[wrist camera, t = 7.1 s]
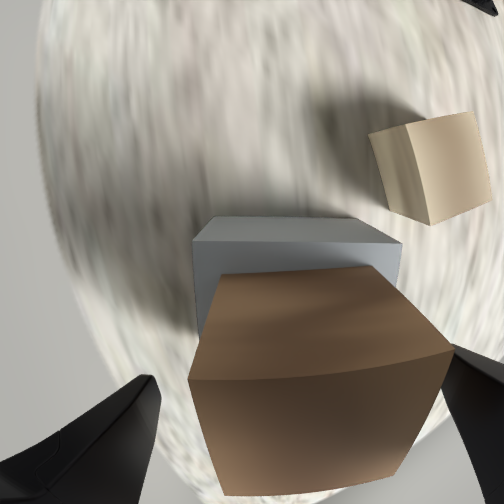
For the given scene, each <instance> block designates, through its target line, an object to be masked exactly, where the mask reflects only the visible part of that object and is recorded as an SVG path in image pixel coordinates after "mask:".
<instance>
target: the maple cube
mask: <svg viewBox="0 0 504 504" xmlns="http://www.w3.org/2000/svg"><path fill="white" fill-rule="evenodd" d="M368 137H369V140H370V143H371V146H372V149H373V152H374V155H375V158H376V161H377V165H378V168H379V172H380V175H381V179H382V182H383V186H384V190H385V193H386V197H387V201H388V205H389V210H390V211H392V212H394V213H397V214H400V215H403V216H405V217H408V218H411V219H413V220H416V221H418V222H421V223H424V224H426V225H429V226H432V225H435V224H437V223H440V222H442V221H445V220H447V219H449V218H452V217H454V216H457V215H459V214H461V213H464V212H466V211H469V210H471V209H473V208H476V207H478V206H480V205H482V204H485V203H487V202H489V201H492V193H491V186H490V180H489V174H488V169H487V164H486V159H485V154H484V150H483V145H482V141H481V137H480V134H479V130H478V126H477V123H476V119H475V116H474V113H473V111H471V112H465V113H459V114H453V115H448V116H442V117H437V118H432V119H427V120H422V121H417V122H413V123H408V124H404V125H400V126H396V127H393V128H389V129H385V130H382V131H378V132H374V133H371V134H368Z"/></svg>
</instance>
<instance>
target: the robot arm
mask: <svg viewBox="0 0 504 504" xmlns="http://www.w3.org/2000/svg"><path fill="white" fill-rule="evenodd" d="M463 1H465V2H467V3H469V4H471V5H473V6H475V7H477V8H479V9H481V10H483V11H485V12H487V13H488V14H490V15H492V16H494V17H495V16H497V15H498V11H497V9H496V7H495V5H494V3H493V0H463ZM451 345H452V346H453V347H454V348H455V351H454V354H453V357H452V360H451V363H450V365H449V368H448V371H447V373H446V376H445V378H444V381H443V383H442V386H441V390H442V392H443V395H444V398H445V401H446V403H447V406H448V409H449V411H450V413H451V415H452V417H453V420H454V422H455V424H456V426H457V428H458V431H459V433H460V435H461V438H462V440H463V442H464V445H465V447H466V450H467V452H468V454H469V457H470V460H471V462H472V465H473V468H474V470H475V473H476V476H477V478H478V481H479V484H480V487H481V490H482V494H483V497H484V499H485V504H504V364H502V363H500V362H497V361H495V360H492V359H490V358H487V357H485V356H482V355H480V354H477V353H475V352H472V351H470V350H467V349H465V348H462V347H460V346H457V345H455V344H451ZM160 406H161V393H160V390H159V388H158V385H157V382H156V379H155V377H154V376H153V375H146V374H141V375H139V376H137V377H136V378H134V379H133V380H132V381H130V382H129V383H127V384H126V385H125V386H123V387H122V388H120V389H119V390H118V391H116V392H115V393H113V394H112V395H110V396H109V397H107V398H106V399H105V400H103V401H102V402H100V403H99V404H97V405H96V406H95V407H93V408H91V409H90V410H89V411H87V412H86V413H84V414H83V415H81V416H80V417H78V418H77V419H75V420H74V421H72V422H71V423H69V424H68V425H66V426H65V427H63V428H62V429H61V430H60V431H57V432H55V433H54V434H52V435H51V436H49V437H48V438H46V439H44V440H43V441H41V442H39V443H38V444H36V445H34V446H32V447H30V448H28V449H26V450H24V451H22V452H20V453H18V454H16V455H14V456H12V457H10V458H7V459H6V460H3V461H1V462H0V504H138V503H139V499H140V495H141V491H142V487H143V483H144V479H145V476H146V472H147V468H148V464H149V461H150V457H151V453H152V449H153V446H154V442H155V437H156V431H157V425H158V418H159V412H160Z"/></svg>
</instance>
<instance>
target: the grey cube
mask: <svg viewBox="0 0 504 504" xmlns="http://www.w3.org/2000/svg"><path fill="white" fill-rule="evenodd" d="M401 252H402V243H400V242H399V241H397V240H395V239H393V238H392V237H390V236H388V235H386V234H385V233H383V232H381V231H379V230H377V229H376V228H374V227H372V226H370V225H368V224H366V223H365V222H363V221H361V220H359V219H349V218H320V217H275V216H214V217H213V218H212V219H211V220H210V221H209V222H208V223H207V225H206V226H205V227H204V228H203V229H202V230H201V231H200V232H199V233H198V235H197V236H196V237H195V238H194V239H193V240H192V255H193V271H194V286H195V299H196V311H197V322H198V332H199V341H200V338H201V335H202V332H203V328H204V325H205V322H206V319H207V316H208V313H209V310H210V307H211V304H212V301H213V298H214V295H215V292H216V289H217V286H218V283H219V280H220V277H221V274H239V273H259V272H278V271H296V270H313V269H329V268H344V267H358V266H373V267H374V268H375V269H376V270H377V271H378V272H380V273H381V274H382V275H383V276H384V277H385V278H386V279H387V280H388V281H389V282H390V283H391V284H392V285H393V286H394V287H395V288H396V283H397V277H398V271H399V265H400V259H401Z"/></svg>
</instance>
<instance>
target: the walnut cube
mask: <svg viewBox="0 0 504 504" xmlns="http://www.w3.org/2000/svg"><path fill="white" fill-rule="evenodd" d="M454 351H455V348H454V347H453V346H452V345H451V344H450V343H449V341H448V340H447V339H446V338H445V337H444V336H443V335H442V334H441V333H440V332H439V331H438V330H437V329H436V328H435V327H434V326H433V325H432V323H431V322H430V321H429V320H428V319H427V318H426V317H425V316H424V315H423V314H422V313H421V312H420V311H419V310H418V309H417V308H416V307H415V306H414V305H413V304H412V303H411V302H410V301H409V300H408V299H407V298H406V297H405V296H404V295H403V294H402V293H401V292H400V291H399V290H397V289H396V288H395V287H394V286H393V285H392V284H391V283H390V282H389V281H388V280H387V279H386V278H385V277H384V276H383V275H382V274H381V273H380V272H378V271H377V270H376V269H375V268H374V267H373V266H358V267H344V268H329V269H313V270H296V271H278V272H259V273H239V274H221V277H220V280H219V283H218V286H217V289H216V292H215V295H214V298H213V301H212V304H211V307H210V310H209V313H208V316H207V319H206V322H205V325H204V328H203V332H202V335H201V338H200V341H199V344H198V347H197V350H196V353H195V357H194V360H193V363H192V366H191V369H190V373H189V376H188V383H189V387H190V391H191V395H192V398H193V402H194V405H195V409H196V412H197V416H198V419H199V423H200V426H201V429H202V432H203V436H204V439H205V442H206V445H207V448H208V451H209V454H210V457H211V460H212V463H213V466H214V469H215V471H216V474H217V477H218V480H219V482H220V485H221V488H222V490H223V493H224V495H225V496H276V495H291V494H302V493H311V492H319V491H326V490H332V489H338V488H344V487H349V486H353V485H358V484H363V483H367V482H371V481H375V480H379V479H383V478H386V477H390V476H393V475H394V474H395V472H396V471H397V469H398V468H399V466H400V465H401V463H402V462H403V460H404V458H405V457H406V455H407V453H408V452H409V450H410V448H411V447H412V445H413V443H414V441H415V439H416V438H417V436H418V434H419V432H420V430H421V428H422V426H423V425H424V423H425V421H426V419H427V417H428V415H429V413H430V410H431V408H432V406H433V404H434V402H435V400H436V397H437V395H438V393H439V391H440V388H441V386H442V383H443V381H444V378H445V376H446V373H447V371H448V368H449V365H450V363H451V360H452V357H453V354H454Z"/></svg>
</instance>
